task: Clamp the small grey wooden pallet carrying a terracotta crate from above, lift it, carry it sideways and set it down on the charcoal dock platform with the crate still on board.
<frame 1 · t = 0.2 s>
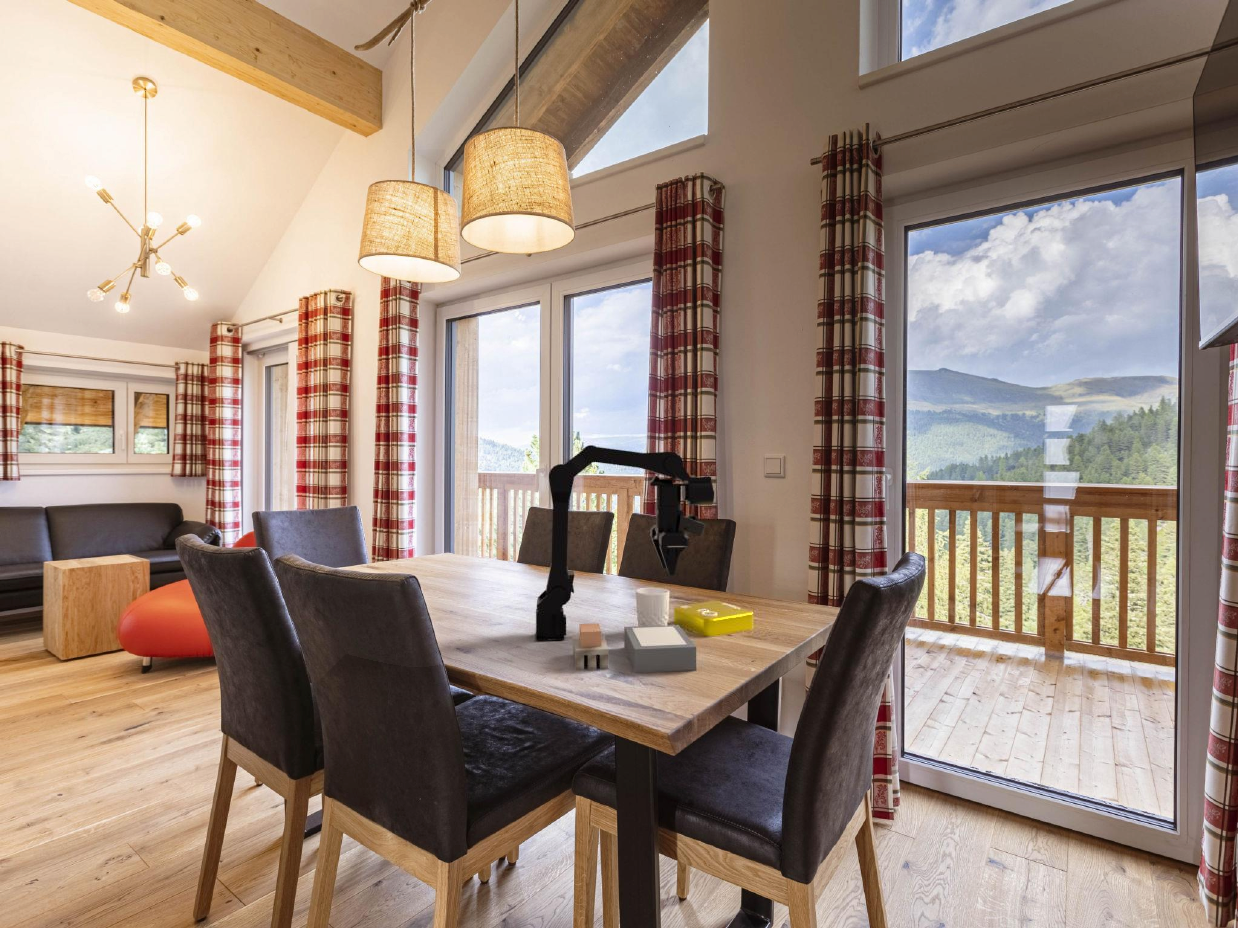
hand: (668, 571, 145), 14 cm above the table, tool pointing down, fingers open, 9 cm apart
dock: (658, 658, 128), on the table
crate: (590, 642, 126), point 4 cm above the table, touching pallet
pallet: (590, 661, 126), on the table, touching crate
white cup: (652, 634, 146), on the table
element tile: (713, 627, 153), on the table
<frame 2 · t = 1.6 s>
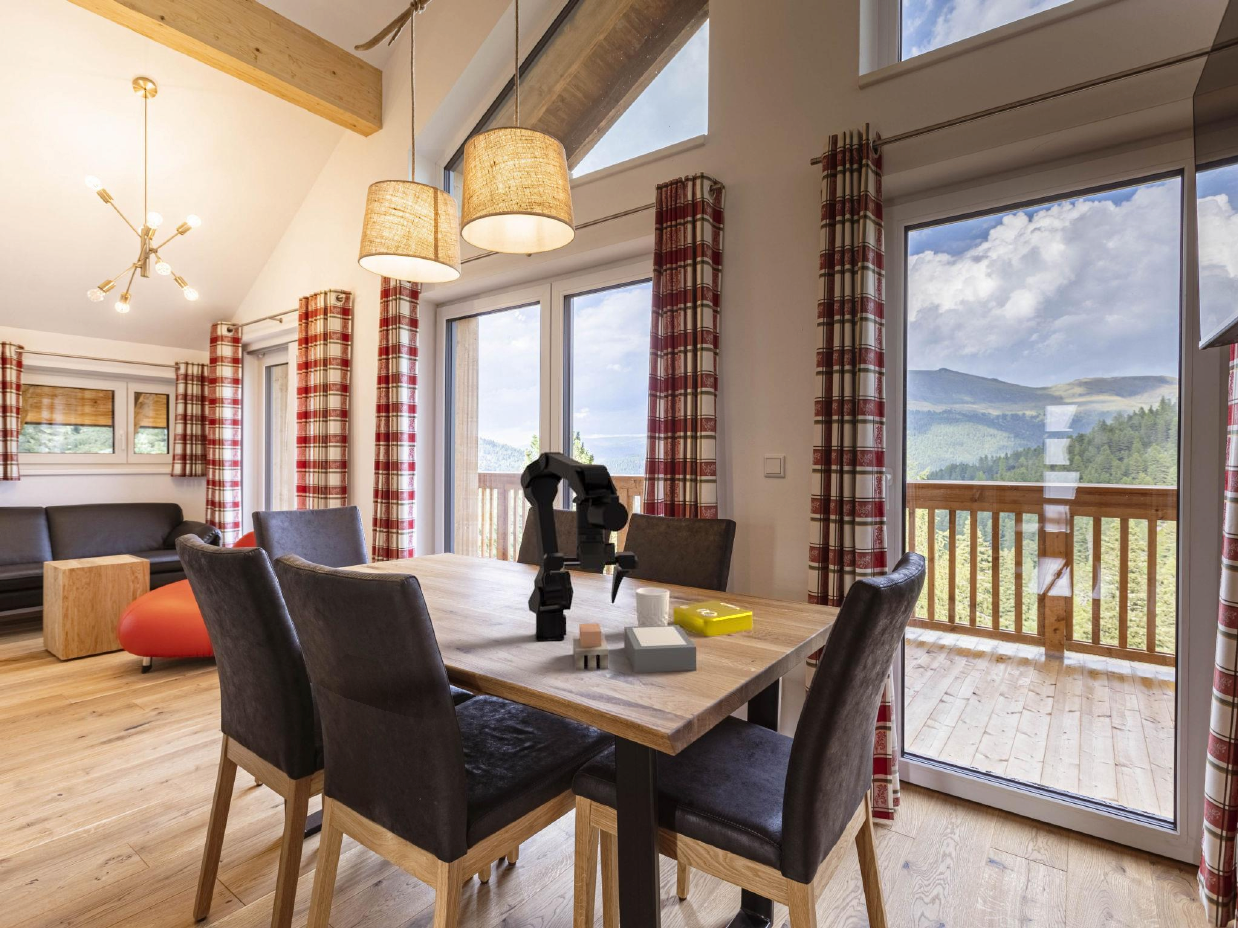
hand: (590, 603, 126), 12 cm above the table, tool pointing down, fingers open, 9 cm apart
nothing on the table moved.
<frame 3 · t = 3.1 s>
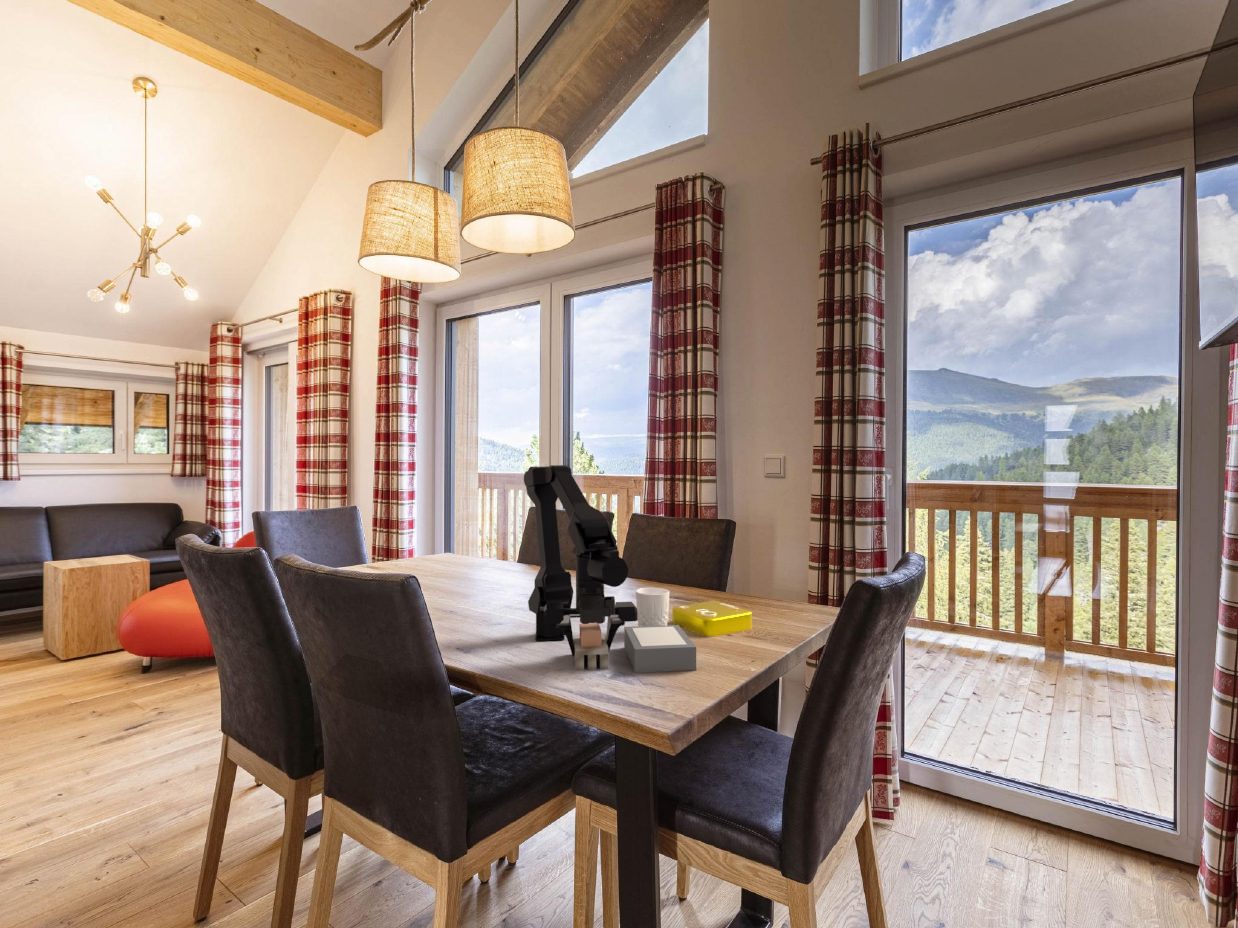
hand: (590, 654, 126), 1 cm above the table, tool pointing down, fingers closed on pallet, 6 cm apart
pallet: (590, 661, 126), on the table, touching crate, gripper
everything else where it was.
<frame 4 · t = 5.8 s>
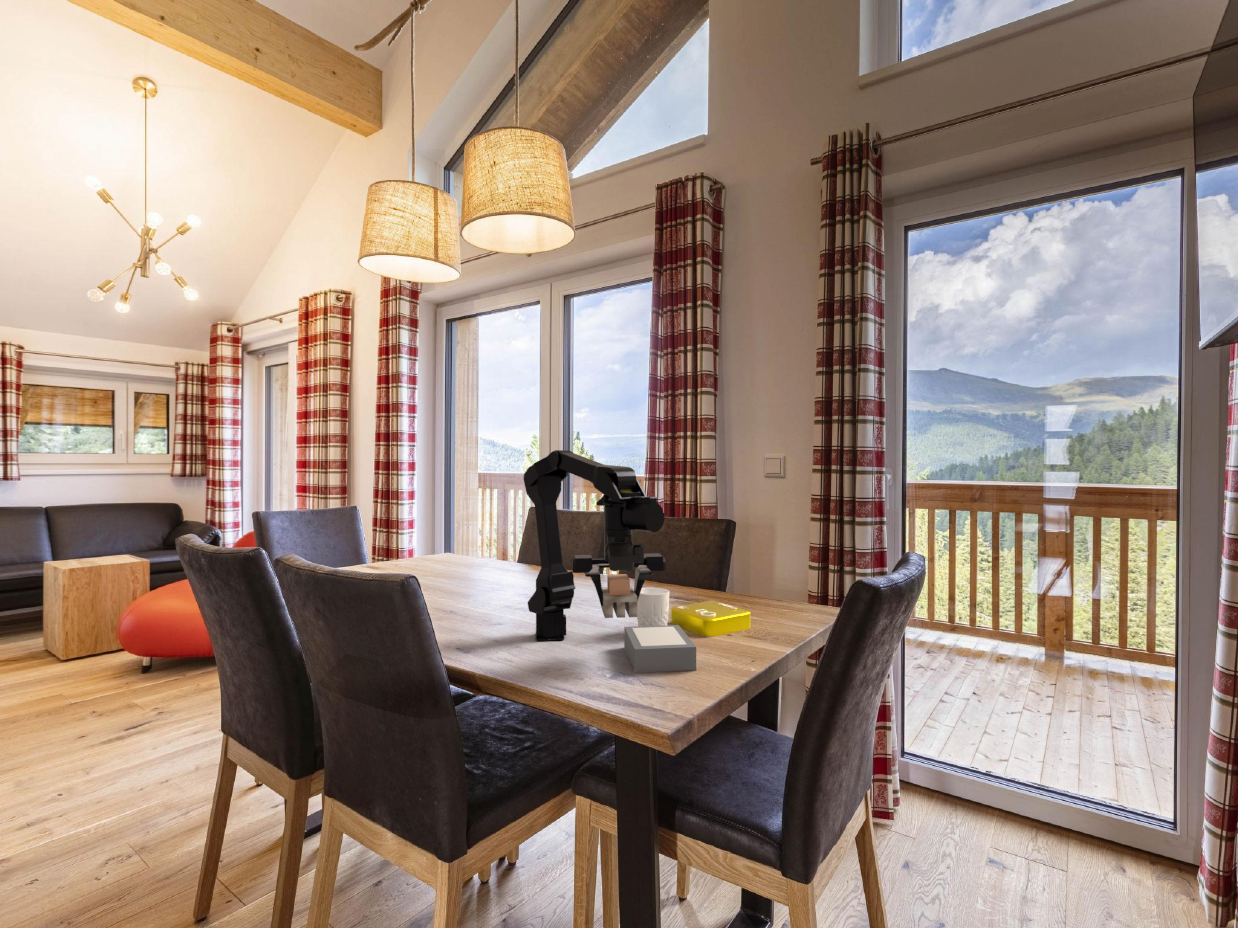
hand: (618, 605, 126), 11 cm above the table, tool pointing down, fingers closed on pallet, 6 cm apart
crate: (618, 591, 126), point 14 cm above the table, touching pallet
pallet: (618, 611, 126), point 10 cm above the table, touching crate, gripper
everything else where it was.
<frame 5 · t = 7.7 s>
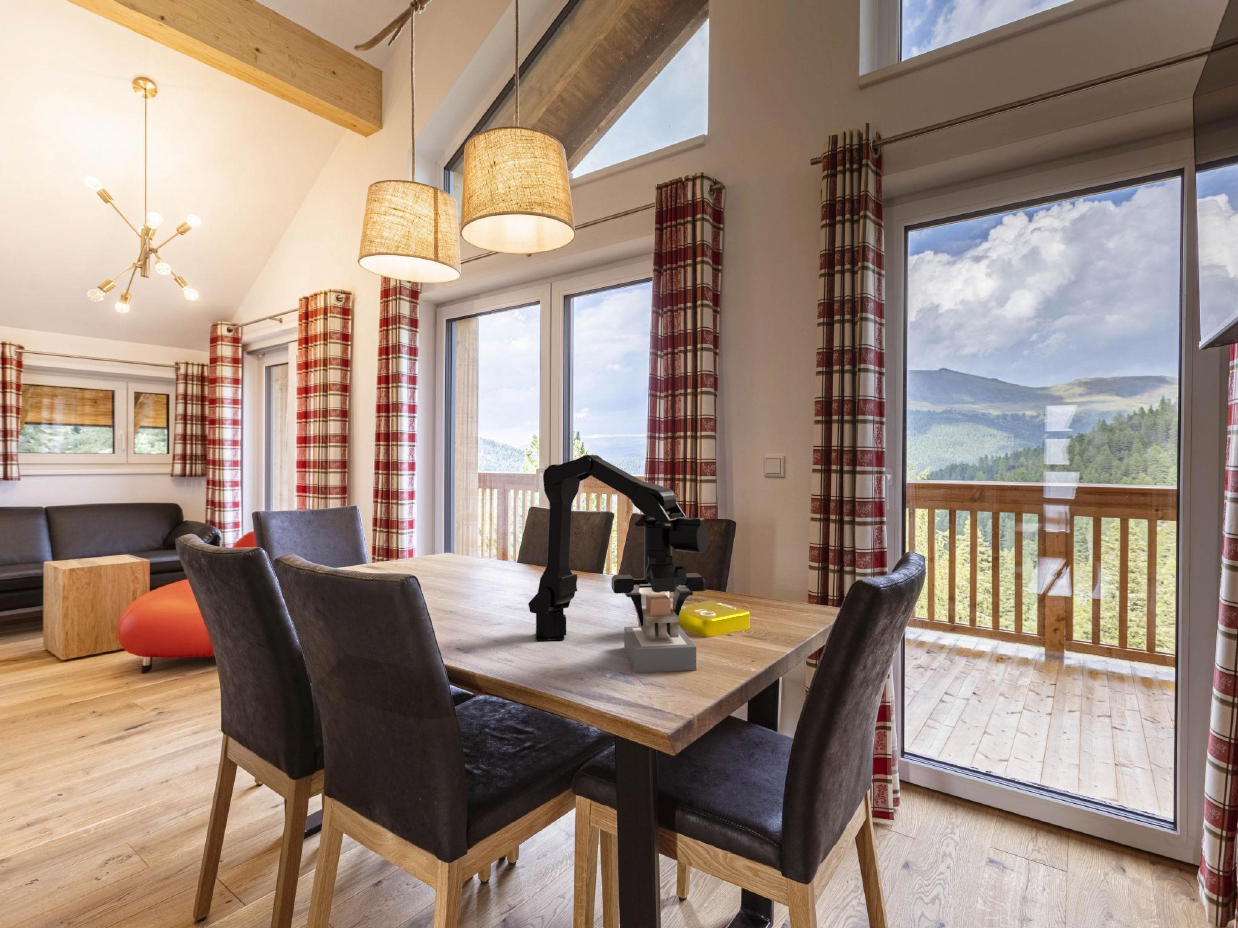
hand: (657, 624, 128), 7 cm above the table, tool pointing down, fingers closed on pallet, 6 cm apart
crate: (658, 611, 127), point 10 cm above the table, touching pallet
pallet: (658, 630, 127), point 6 cm above the table, touching crate, gripper
everything else where it was.
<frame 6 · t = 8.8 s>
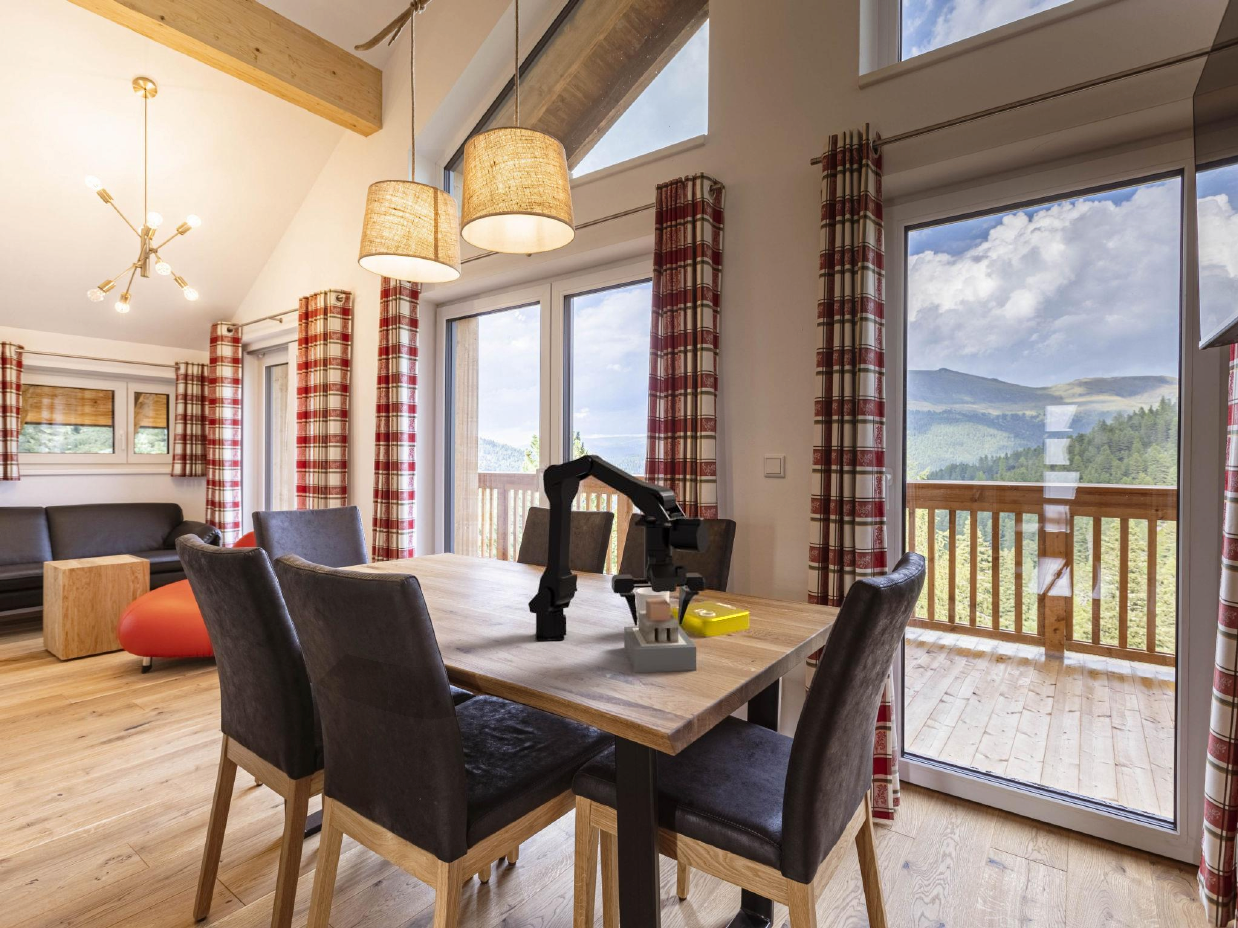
hand: (658, 624, 128), 7 cm above the table, tool pointing down, fingers open, 9 cm apart
crate: (657, 616, 127), point 9 cm above the table, touching pallet
pallet: (657, 635, 127), point 5 cm above the table, touching crate, dock
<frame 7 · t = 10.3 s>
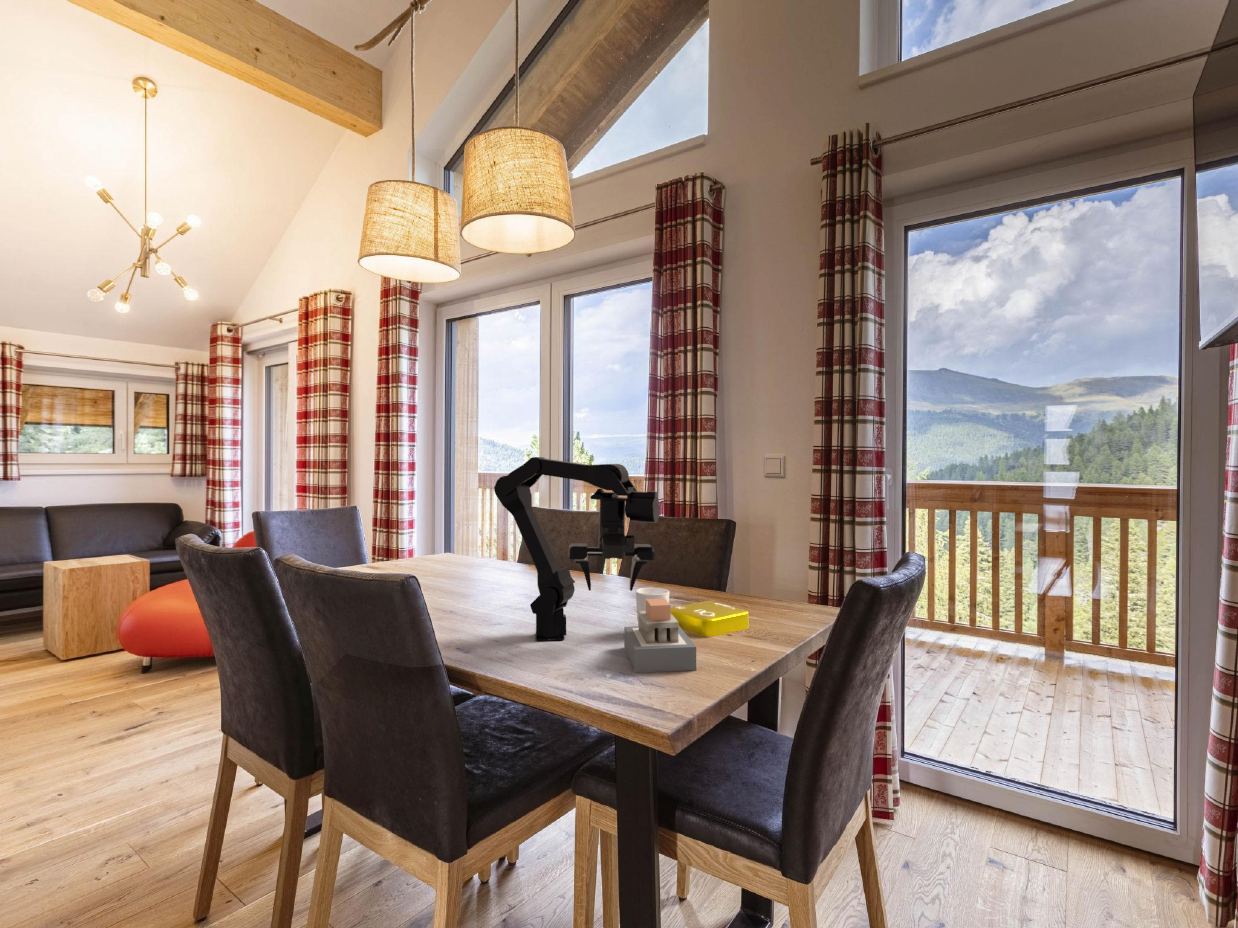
hand: (610, 590, 138), 12 cm above the table, tool pointing down, fingers open, 9 cm apart
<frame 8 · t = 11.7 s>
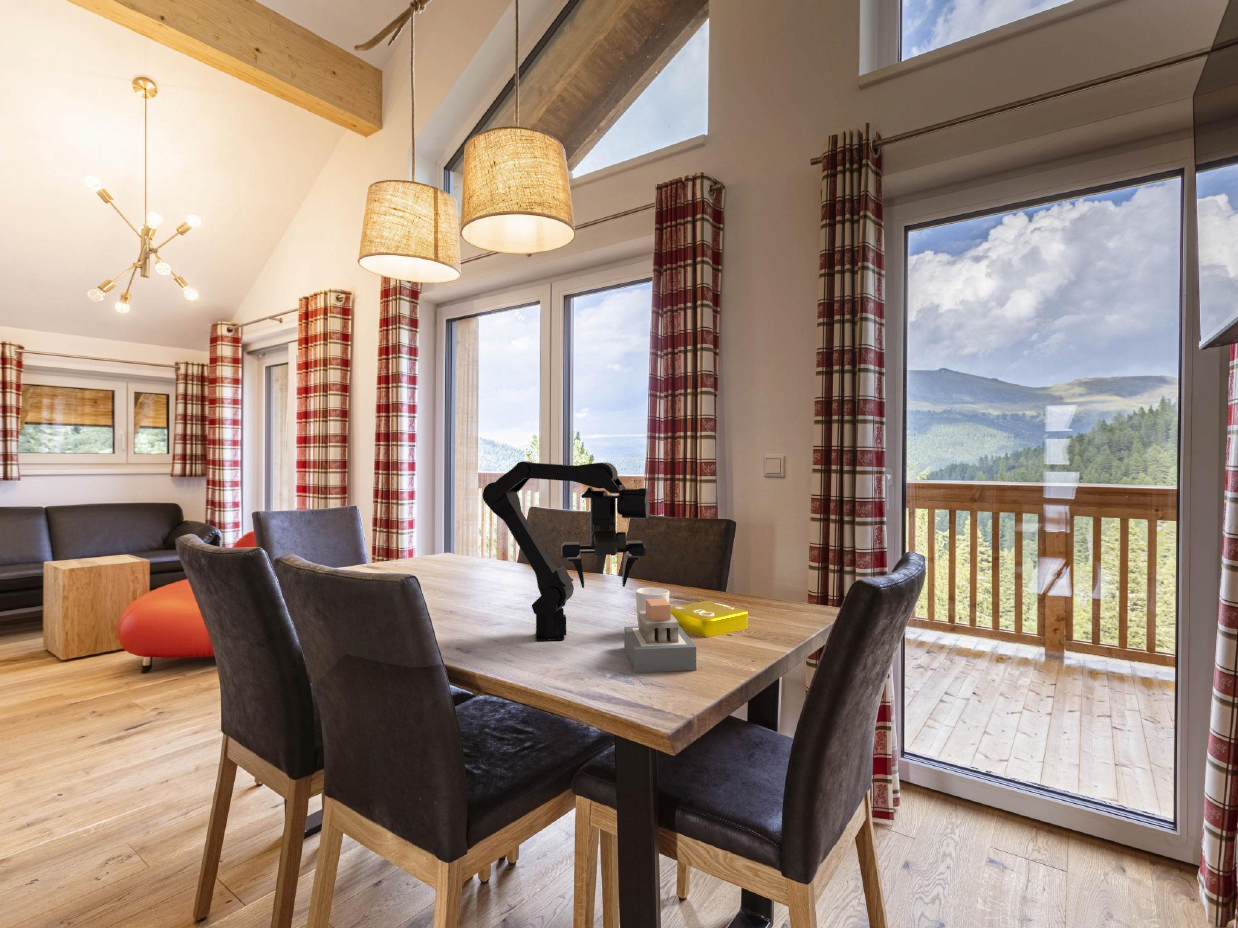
hand: (603, 587, 140), 12 cm above the table, tool pointing down, fingers open, 9 cm apart
at the end: pallet inside the target area on the dock (0.1 cm from its centre), point 4.6 cm above the dock's base; crate 0.1 cm from the pallet (horizontally); crate point 8.6 cm above the table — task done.
